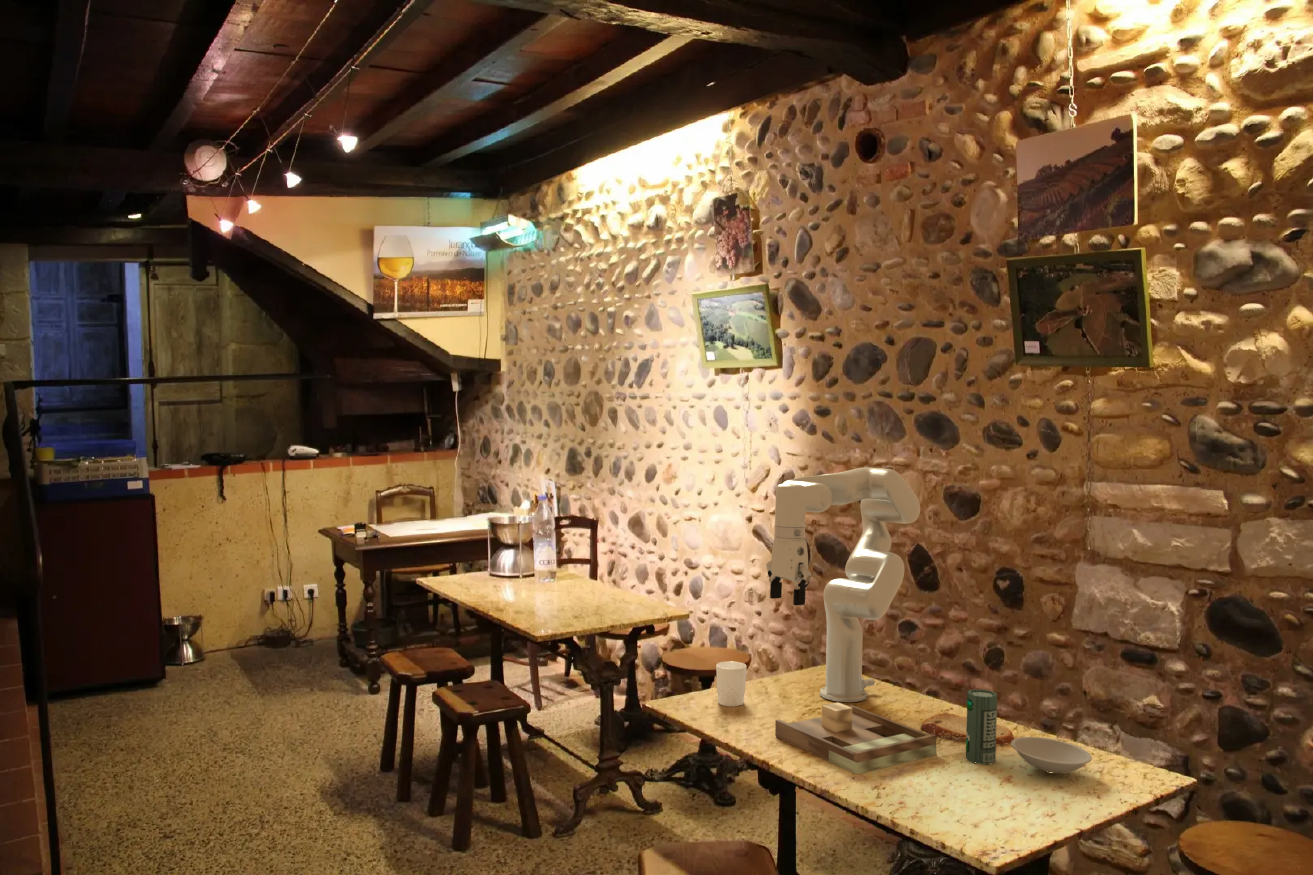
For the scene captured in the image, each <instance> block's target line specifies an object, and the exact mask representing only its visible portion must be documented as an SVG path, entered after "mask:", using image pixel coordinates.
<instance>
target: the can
mask: <svg viewBox="0 0 1313 875" xmlns="http://www.w3.org/2000/svg"><path fill="white" fill-rule="evenodd" d="M966 695H967V697H966V718H967V725H966V742H965V760H966V761H968V762H971V763H973V762H974V764H977V763H980V765H991V764H990V763H992V764H995V763H996V758H997V757H996V753H997V749H996V748H997V745H996V725H997V720H998V719H997V717H998V715H997V714H998V693H996V692H995V691H992V690H986V689H979V688H978V689H975V688H973V689H969V690H968V691H967V693H966ZM975 762H976V763H975Z"/></svg>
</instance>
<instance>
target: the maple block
mask: <svg viewBox="0 0 1313 875" xmlns="http://www.w3.org/2000/svg"><path fill="white" fill-rule="evenodd" d="M821 717H822V727H824V728H827V729H829V730H831V731H834V732H840V731H845V730H849V729H852V708H851V707H849V705H846V704H843V703H842V702H832V703H828V704H823V705H821Z"/></svg>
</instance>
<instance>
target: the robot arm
mask: <svg viewBox="0 0 1313 875" xmlns="http://www.w3.org/2000/svg"><path fill="white" fill-rule="evenodd" d="M858 501H860V505H859V506H860V507H859V508H860V513H861V514H860V515H861V521H862V533H861V536H860V538H859V540H858V542H857V543H856V545H855V547H854V549H853V550H852V552H851V554H850V555H849V557H848V559H847V561H846V564H845V568H844V573H845V575H846V577H847V578H841V577H840V578H835V579H832V580H829V581H828V583H827V584H826V585H825V587H824V590H823V603H824V604H823V605H824V610H825V616H826V643H825V644H826V647H825V648H826V650H825V653H826V654H825V657H826V658H825V686H823V687H821V688H820V689H819V696H820V697H821V698H823V699H826V700H827V701H828V700H829V701H833V702H836V703H858V702H862V701H864V700H867V698H868V692H867V691H866V690H865V689H866V688H867V687H872V686H875V683H876V681H875V679H874V678H872V677H871V678H867V679H866V678H863V640H864V639H863V638H864V637H863V636H864V634H863V633H864V632H863V628H862V625H861V622H860V619H865V620H870V621H877V620H879V619H882V617H884V615H885V614H886V613H887V611H888V609H889V608H890V606H891V604H892V602H893V600H894V599H895V597H896V595H897V593H898V591H899V589H900V588H901V585H902V583H903V581H904V576H905V562H904V561H903V559H902V558H901V556H900V555H898V554H897V553H894V552H891V551H890V550H891V548H892V542H893V541H892V537H891V534H890V532H889V531H888V528H887V525H886V523H892V524H893V523H895V524H903V525H904V524H905V525H907V524H913V523H914V522H916V521H917V519H918V518H919V516H920V513H921V504H920V500H919V498H918V496H917V494H916V493H915V492H914V491H913V489H912V488H911V486H910V485H909V484H908V483H907V481H906V479H904V477H903V476H902V475H901V474H900V473H899V472H898V471H896V470H895V469H891V468H884V467H883V468H881V467H870V466H869V467H868V466H867V467H865V466H863V467H858V468H854V469H849V470H844V471H841V472H835V473H826V474H818V475H810V476H809V475H808V476H800V477H795V478H792V479H787V480H785V481H784V482H782V483H780V484H778V485H777V486H776V488H775V506H774V508H775V510H774V534H773V536H774V537H773V543H772V548H771V555H770V556H771V557H770V558H771V559H770V561H768V562H767V563H766V565H765V566H766V570H767V575H768V578H769V579H768V580H769V583H770V585H769V586H770V587H769V588H770V589H769V598H770V599H782V595H783V594H782V593H783V592H782V591H783V590H782V589H783V582H782V579H784V580H788V581H792V583H793V585H794V589H793V597H792V598H793V605H794V606H804V605H805V604H806V590H807V589H808V585H810V580H811V578H812V575H813V574H812V572H811V571H810V570H809V554H808V546H807V545H808V544H807V540H805V539H806V538H805V536H806V535H805V534H806V513H807V512H808V513H817V514H818V513H823V512H825V511H827V510H828V509H829V508H830V507H831V506H840V505H847V504H851V503H855V502H858ZM885 522H886V523H885ZM889 551H890V552H889Z"/></svg>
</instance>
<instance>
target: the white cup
mask: <svg viewBox="0 0 1313 875" xmlns="http://www.w3.org/2000/svg"><path fill="white" fill-rule="evenodd" d="M715 666H716V669H715V670H716V693H717V703H718V704H719V705H721V706H724V707H731V706H732V707H739V705H740V706H742V705H743V703H745V693H746V681H747V680H746V679H747V678H746V677H747V665H746V664H745V663H744V662H739V661H731V660H729V661H720V662H717V664H716V665H715Z"/></svg>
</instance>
